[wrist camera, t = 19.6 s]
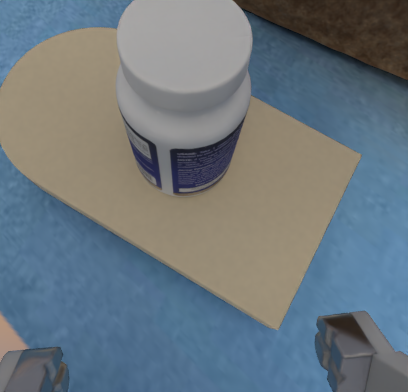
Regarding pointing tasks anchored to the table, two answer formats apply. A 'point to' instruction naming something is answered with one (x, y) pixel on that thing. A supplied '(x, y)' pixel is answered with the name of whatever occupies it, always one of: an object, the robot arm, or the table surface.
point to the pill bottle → (183, 89)
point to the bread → (346, 27)
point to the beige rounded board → (166, 204)
